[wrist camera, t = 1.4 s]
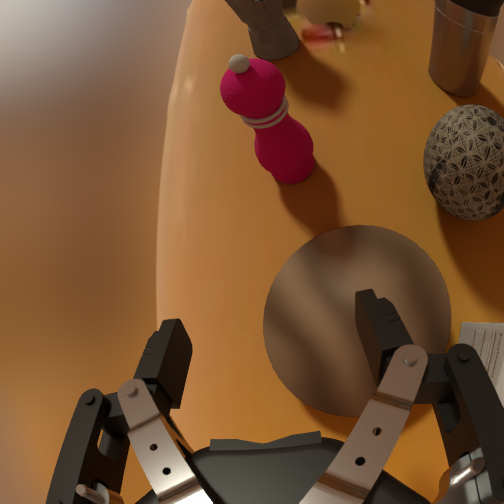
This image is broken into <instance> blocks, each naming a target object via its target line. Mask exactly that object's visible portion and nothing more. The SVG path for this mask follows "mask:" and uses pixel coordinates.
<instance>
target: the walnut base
mask: <svg viewBox="0 0 504 504" xmlns="http://www.w3.org/2000/svg"><path fill="white" fill-rule="evenodd" d="M371 288H372V289H373V291H374V293H375V295H376V296H377V298H378V299H379V298H383V297H385V298H386V299H388V300H389V301H390V302H392V303H393V305H394V306H395V308H396V310H397V313H398V314H399V316H400V317H401V320H402V321H403V323H404V325H405V327H406V329H407V331H408V333H409V335H410V337H411V338H412V340H413V342H414V344H415V345H417V346H419V347H421V348H422V349H424V350H425V352H426V353H430V354H444V352H445V349H446V347H447V343H448V339H449V334H450V327H451V306H450V300H449V294H448V291H447V288H446V284H445V282H444V279H443V277H442V275H441V273H440V271H439V269H438V268H437V266H436V265H435V263H434V262H433V260H432V259H431V258H430V257H429V256H428V254H427V253H426V252H425V251H424V250H423V249H422V248H420V247H419V246H418V245H417V244H416V243H414V242H413V241H411V240H410V239H408V238H407V237H405V236H403V235H401V234H399V233H397V232H395V231H392V230H389V229H386V228H382V227H376V226H366V225H356V226H346V227H342V228H337V229H334V230H331V231H328V232H326V233H323V234H321V235H319V236H317V237H315V238H313V239H312V240H310V241H309V242H307V243H306V244H304V245H303V246H302V247H301V248H299V249H298V250H297V251H296V252H295V253H294V254H293V255H292V256H291V257H290V258H289V259H288V260H287V262H286V263H285V264H284V265H283V267H282V268H281V270H280V271H279V273H278V274H277V276H276V278H275V280H274V282H273V284H272V286H271V289H270V291H269V294H268V297H267V301H266V305H265V310H264V319H263V333H264V341H265V346H266V350H267V354H268V357H269V359H270V362H271V364H272V367H273V369H274V370H275V372H276V374H277V375H278V377H279V379H280V380H281V381H282V382H283V384H284V385H285V386H286V388H287V389H289V390H290V391H291V392H292V393H293V394H294V395H295V396H296V397H297V398H299V399H300V400H301V401H303V402H304V403H306V404H308V405H309V406H311V407H313V408H315V409H317V410H320V411H323V412H325V413H329V414H333V415H337V416H347V417H358V416H361V415H362V413H363V411H364V409H365V407H366V405H367V404H368V402H369V400H370V398H371V396H372V395H373V394H375V393H376V391H377V389H378V387H379V386H377V387H376V386H375V383H374V380H373V377H372V373H371V370H370V367H369V364H368V361H367V358H366V355H365V352H364V349H363V346H362V343H361V340H360V338H359V335H358V332H357V329H356V324H355V292H356V291H361V290H366V289H371Z"/></svg>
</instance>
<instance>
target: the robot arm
mask: <svg viewBox="0 0 504 504" xmlns="http://www.w3.org/2000/svg"><path fill="white" fill-rule="evenodd" d="M503 3H504V0H435V11H434V26H433V37H432V46H431V54H430V62H429V69H428V70H429V74H430V76H431V78H432V79H433V81H434V82H435V83H436V84H437V85H438V86H439V87H441V88H442V89H444V90H445V91H447V92H449V93H451V94H453V95H456V96H460V97H470V96H472V95H474V94H475V93H476V91H477V88H478V86H479V83H480V80H481V77H482V74H483V71H484V68H485V65H486V62H487V59H488V55H489V52H490V49H491V45H492V41H493V37H494V34H495V29H496V25H497V20H498V16H499V11H500V7H501V6H502V4H503ZM355 324H356V329H357V332H358V335H359V338H360V340H361V343H362V346H363V349H364V352H365V355H366V358H367V361H368V364H369V367H370V370H371V373H372V377H373V380H374V383H375V386H376V387H377V386H379V387H378V389H377V391H376V393H375V394H373V395H372V396H371V398H370V400H369V402H368V404H367V405H366V407H365V409H364V411H363V413H362V415H361V416H360V418H359V420H358V422H357V423H356V425H355V427H354V428H353V430H352V432H351V433H350V435H349V437H348V438H347V440H346V442H342V441H340V440H336V439H332V438H325V437H321V433H320V431H316V432H310V433H303V434H295V435H290V436H288V437H285V438H281V439H278V440H275V441H272V442H269V443H264V444H262V443H255V442H249V441H244V440H239V439H211V441H210V446H208V447H205V448H202V449H200V450H198V451H196V452H194V450H193V449H192V448H191V447H190V446H189V444H188V443H187V441H186V440H185V438H184V437H183V435H182V433H181V432H180V430H179V429H178V427H177V425H176V424H175V422H174V420H173V419H172V417H171V416H170V414H169V413H170V409H180V404H181V400H182V395H183V391H184V387H185V382H186V378H187V374H188V369H189V365H190V361H191V357H192V343H191V340H190V338H189V336H188V334H187V332H186V330H185V328H184V326H183V324H182V322H181V320H180V319H168V320H163V322H162V324H161V326H160V329H159V331H155V332H154V333H153V335H152V336H151V337H150V338H149V339H148V342H147V344H146V347H145V348H146V349H144V352H143V356H142V357H141V359H140V362H139V365H138V367H137V370H136V372H135V375H134V378H133V379H131V380H128V381H126V382H125V383H124V384H123V385H121V387H120V388H119V390H118V392H115V393H111V394H107V395H103V394H102V392H101V391H100V390H98V389H89V390H87V391H86V392H84V393H83V394H82V395H81V397H80V399H79V401H78V404H77V406H76V409H75V412H74V414H73V417H72V419H71V422H70V425H69V428H68V430H67V433H66V436H65V439H64V442H63V445H62V448H61V451H60V454H59V457H58V460H57V464H56V467H55V471H54V474H53V477H52V481H51V484H50V488H49V492H48V496H47V500H46V504H124V501H123V499H122V497H121V496H120V491H121V486H122V480H123V475H124V470H125V465H126V460H127V455H128V451H129V446H130V442H131V444H132V446H133V448H134V451H135V453H136V455H137V458H138V460H139V462H140V464H141V466H142V468H143V470H144V472H145V474H146V476H147V478H148V480H149V482H150V484H151V486H152V488H153V489H152V490H150V491H149V492H148V493H147V494H146V495H145V496H143V497H142V498H141V499H140V500H139V501H137V502H136V503H135V504H431V503H430V502H429V501H428V500H427V499H426V498H424V497H423V496H421V495H420V494H418V493H417V492H415V491H414V490H412V489H410V488H409V487H407V486H406V485H404V484H403V483H402V482H400V481H399V480H397V479H396V478H394V477H393V476H391V475H390V474H389V473H387V472H386V471H384V470H383V467H384V466H385V464H386V462H387V460H388V458H389V456H390V454H391V452H392V450H393V448H394V446H395V444H396V442H397V440H398V438H399V436H400V434H401V431H402V429H403V427H404V425H405V422H406V420H407V418H408V415H409V413H410V411H411V408H412V405H413V404H428V403H432V406H433V409H434V412H435V415H436V419H437V422H438V425H439V429H440V432H441V436H442V440H443V443H444V447H445V451H446V455H447V459H448V464H449V468H448V469H447V470H446V471H445V472H444V473H443V475H442V476H441V478H440V481H439V493H438V496H437V498H436V499H435V501H434V502H433V503H432V504H503V503H504V408H503V406H502V403H501V401H500V399H499V396H498V394H497V392H496V390H495V387H494V385H493V383H492V381H491V379H490V377H489V375H488V373H487V371H486V369H485V367H484V365H483V363H482V361H481V359H480V357H479V355H478V353H477V351H476V350H475V349H474V348H473V347H472V346H470V345H468V344H464V343H460V344H456V345H454V346H452V347H451V348H450V349H449V351H448V353H445V354H430V353H426V352H425V350H424V349H422V348H421V347H419V346H417V345H415V344H414V342H413V340H412V338H411V337H410V335H409V333H408V331H407V329H406V327H405V325H404V323H403V321H402V320H401V317H400V316H399V314H398V313H397V310H396V308H395V306H394V305H393V303H392V302H390V301H389V300H388V299H386V298H385V297H383V298H379V299H378V298H377V296H376V295H375V293H374V291H373V289H372V288H371V289H366V290H361V291H356V292H355ZM101 429H102V430H103V434H102V438H101V441H100V445H99V449H98V447H97V442H98V439H99V435H100V432H101Z"/></svg>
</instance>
